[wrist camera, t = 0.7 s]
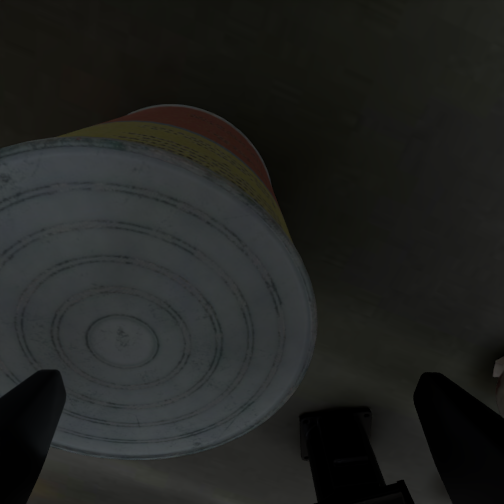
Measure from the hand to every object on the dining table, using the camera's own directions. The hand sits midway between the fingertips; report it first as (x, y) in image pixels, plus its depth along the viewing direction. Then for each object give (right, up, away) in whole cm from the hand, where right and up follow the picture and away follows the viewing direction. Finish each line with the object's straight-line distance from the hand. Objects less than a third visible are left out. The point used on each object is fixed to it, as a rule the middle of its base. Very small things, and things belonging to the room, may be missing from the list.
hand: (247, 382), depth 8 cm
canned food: (-4, +6, +12) cm, 14 cm away
